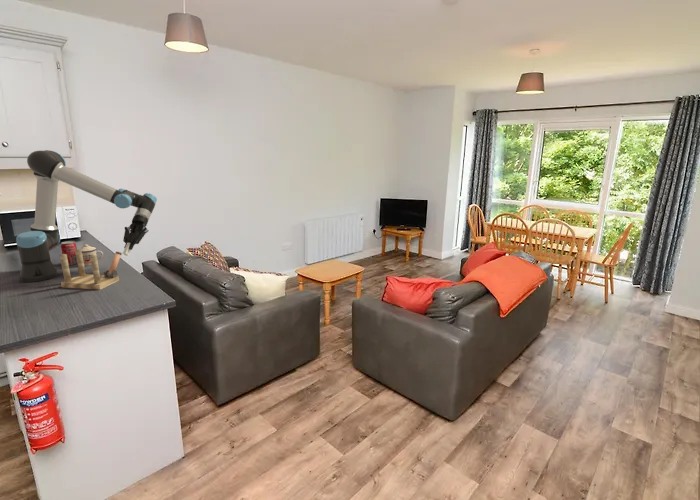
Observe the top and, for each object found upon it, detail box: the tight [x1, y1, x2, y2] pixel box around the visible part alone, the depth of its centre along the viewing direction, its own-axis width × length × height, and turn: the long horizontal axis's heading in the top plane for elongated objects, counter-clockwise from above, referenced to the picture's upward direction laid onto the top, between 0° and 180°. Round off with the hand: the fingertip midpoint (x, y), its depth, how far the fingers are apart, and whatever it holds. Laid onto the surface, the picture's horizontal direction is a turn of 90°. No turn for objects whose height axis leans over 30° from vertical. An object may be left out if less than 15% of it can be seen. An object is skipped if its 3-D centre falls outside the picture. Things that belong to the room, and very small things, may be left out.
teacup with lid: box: [79, 243, 104, 267], centre depth 216 cm, size 12×9×12 cm
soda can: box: [60, 240, 78, 266], centre depth 214 cm, size 7×7×13 cm
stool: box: [59, 248, 120, 290], centre depth 183 cm, size 20×13×16 cm, turn 85°
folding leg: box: [106, 251, 123, 277], centre depth 190 cm, size 3×3×13 cm
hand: (125, 254), depth 197 cm, fingers closed
